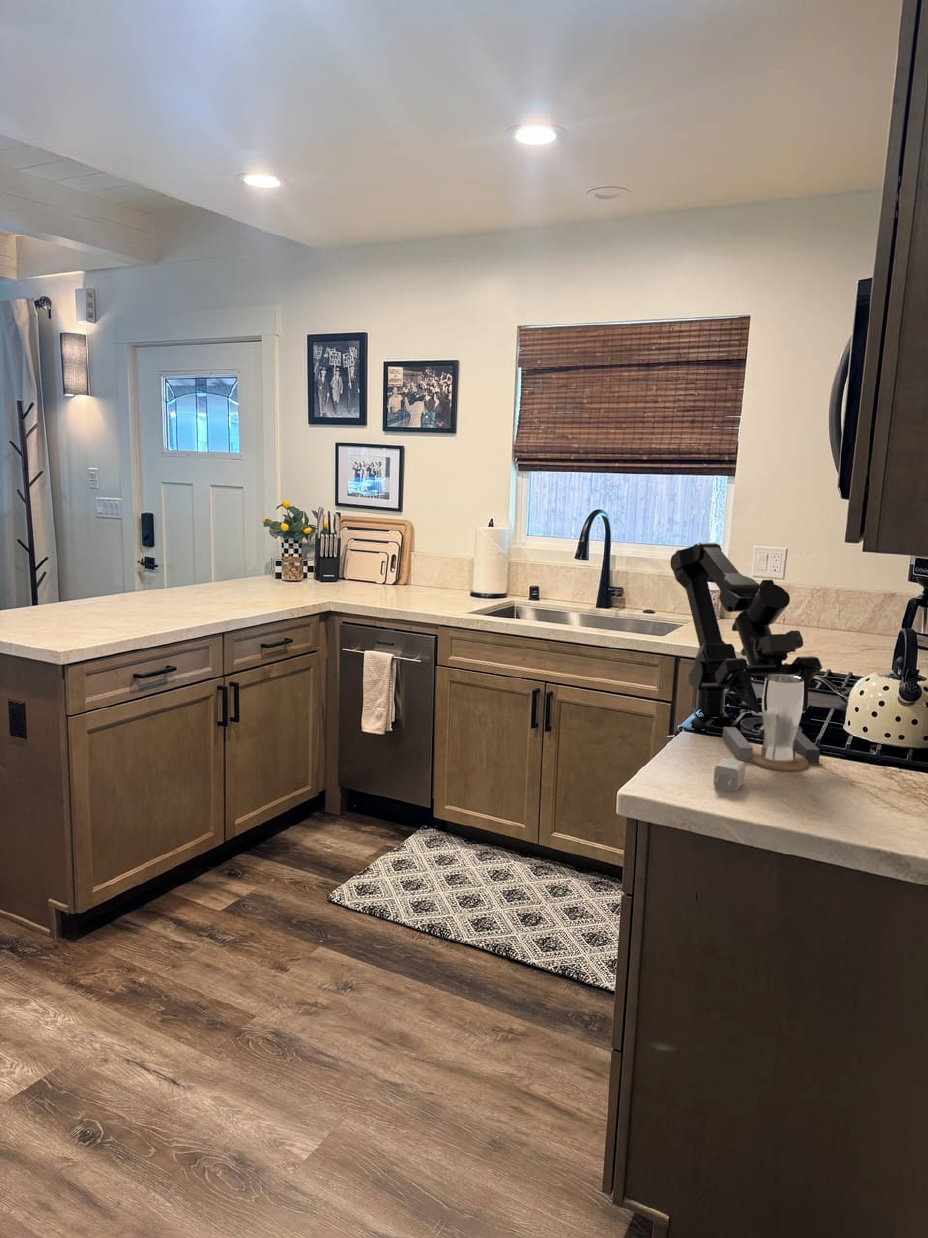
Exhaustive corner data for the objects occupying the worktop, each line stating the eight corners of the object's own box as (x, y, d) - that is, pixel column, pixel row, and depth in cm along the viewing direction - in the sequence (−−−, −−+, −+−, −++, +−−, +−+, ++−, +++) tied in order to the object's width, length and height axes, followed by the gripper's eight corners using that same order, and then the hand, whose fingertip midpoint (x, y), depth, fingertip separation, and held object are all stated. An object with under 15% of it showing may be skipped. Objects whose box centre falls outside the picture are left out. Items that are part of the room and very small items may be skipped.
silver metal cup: (799, 755, 154) (806, 676, 151) (796, 767, 147) (803, 685, 145) (760, 749, 157) (766, 671, 154) (755, 760, 151) (761, 680, 148)
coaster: (743, 751, 157) (743, 748, 157) (797, 752, 157) (797, 749, 157) (758, 770, 147) (759, 767, 147) (816, 772, 147) (816, 769, 147)
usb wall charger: (744, 784, 141) (745, 761, 141) (733, 797, 136) (735, 774, 135) (720, 779, 143) (721, 757, 143) (708, 792, 138) (710, 769, 137)
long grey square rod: (784, 740, 164) (785, 728, 163) (796, 740, 163) (797, 729, 163) (805, 762, 152) (806, 749, 151) (818, 762, 152) (820, 750, 151)
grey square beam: (722, 738, 164) (723, 727, 164) (734, 739, 164) (735, 727, 164) (738, 760, 152) (739, 747, 152) (751, 760, 152) (752, 748, 152)
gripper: (726, 615, 151) (751, 691, 143) (821, 614, 154) (851, 688, 145) (705, 648, 160) (727, 721, 152) (794, 646, 163) (821, 717, 155)
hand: (781, 711), depth 151 cm, fingers open, 9 cm apart
